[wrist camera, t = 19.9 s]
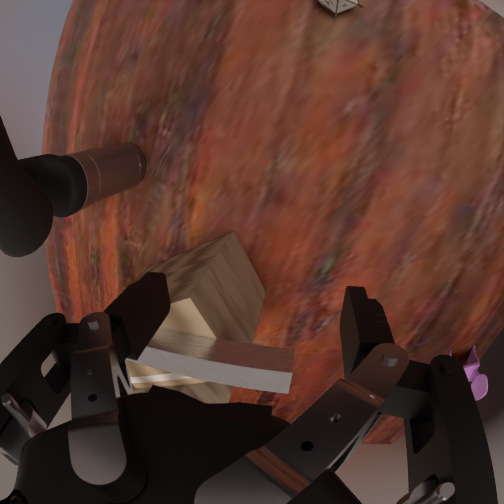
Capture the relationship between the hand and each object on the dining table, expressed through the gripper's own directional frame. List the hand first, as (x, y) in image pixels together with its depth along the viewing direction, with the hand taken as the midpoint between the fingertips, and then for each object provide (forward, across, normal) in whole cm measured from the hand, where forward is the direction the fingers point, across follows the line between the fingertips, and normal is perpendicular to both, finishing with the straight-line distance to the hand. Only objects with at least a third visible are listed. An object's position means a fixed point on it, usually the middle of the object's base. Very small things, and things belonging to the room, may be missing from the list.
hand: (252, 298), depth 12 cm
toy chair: (+38, +48, -42) cm, 74 cm away
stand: (+38, -18, -30) cm, 52 cm away
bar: (+16, -10, -19) cm, 26 cm away
